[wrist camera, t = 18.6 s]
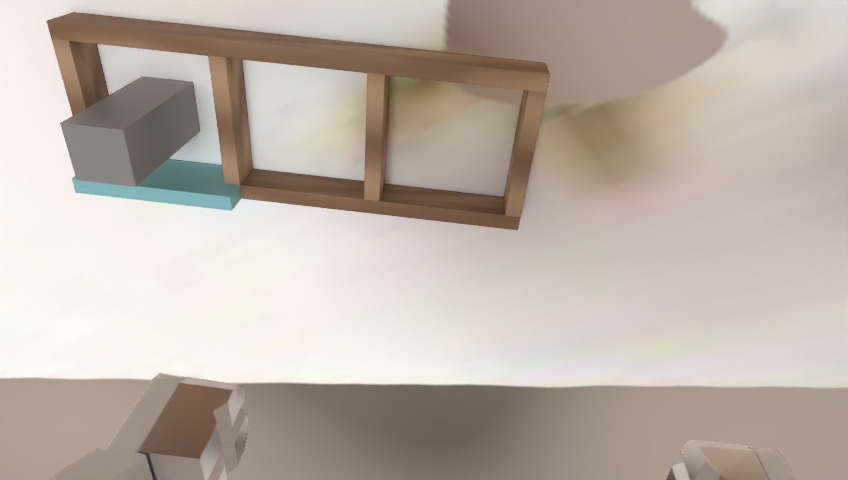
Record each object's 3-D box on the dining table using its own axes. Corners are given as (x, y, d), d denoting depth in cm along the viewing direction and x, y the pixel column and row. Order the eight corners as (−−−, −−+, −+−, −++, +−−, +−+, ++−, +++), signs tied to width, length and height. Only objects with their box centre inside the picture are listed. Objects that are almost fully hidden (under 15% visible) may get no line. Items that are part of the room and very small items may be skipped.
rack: (73, 12, 40) (26, 27, 36) (545, 62, 40) (553, 83, 35) (111, 165, 47) (75, 192, 43) (515, 211, 46) (519, 243, 42)
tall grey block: (142, 76, 43) (60, 123, 34) (192, 82, 43) (122, 130, 34) (152, 125, 45) (76, 180, 37) (200, 130, 45) (135, 187, 36)
